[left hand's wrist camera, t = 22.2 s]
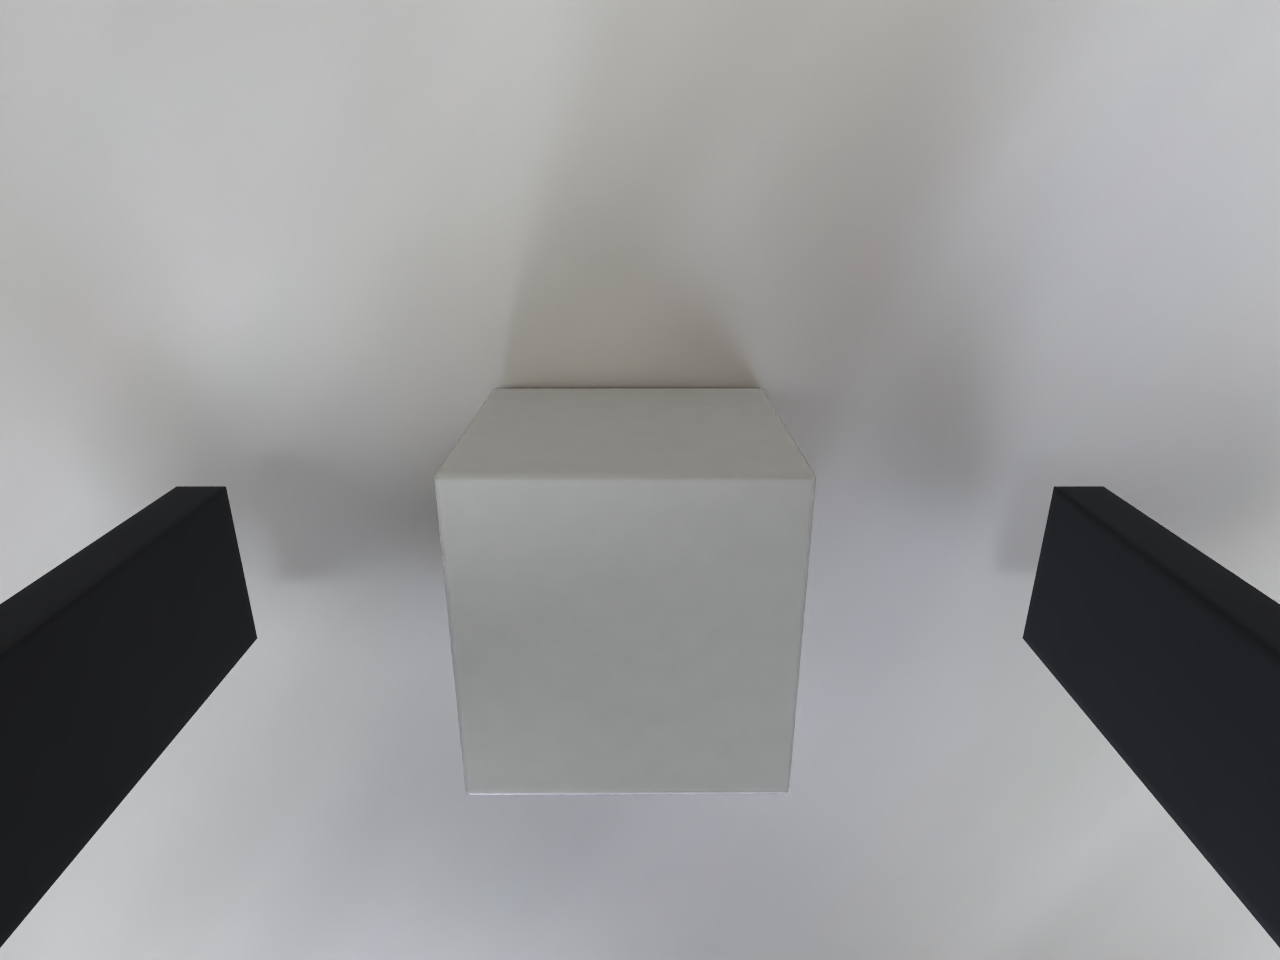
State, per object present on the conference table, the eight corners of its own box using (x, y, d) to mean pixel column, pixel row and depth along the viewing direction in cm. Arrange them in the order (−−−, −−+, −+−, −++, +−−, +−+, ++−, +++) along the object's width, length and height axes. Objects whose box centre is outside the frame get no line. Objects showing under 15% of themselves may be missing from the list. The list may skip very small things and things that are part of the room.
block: (764, 386, 13) (817, 473, 9) (749, 635, 15) (789, 796, 11) (491, 387, 13) (432, 474, 9) (509, 636, 15) (464, 797, 11)
